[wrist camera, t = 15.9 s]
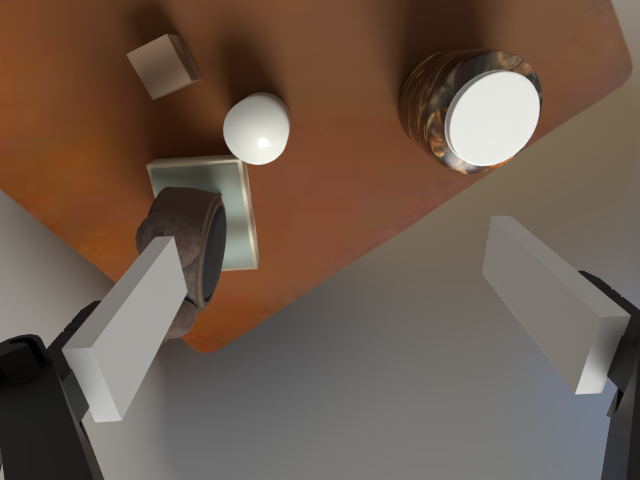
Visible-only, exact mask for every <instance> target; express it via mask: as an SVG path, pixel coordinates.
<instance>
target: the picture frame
mask: <svg viewBox="0 0 640 480" xmlns="http://www.w3.org/2000/svg"><path fill="white" fill-rule="evenodd" d="M146 166H147V170H148V174H149V177H150V181H151V185H152V189H153V193H154V196H155V198H156V197H157V195H158V194H159V192H160V191H161V190H162V189H163V188H165V187H168V186H170V187H189V188H196V189H201V190H205V191H209V192H213V193H216V194H217V193H221V194H222V197H221V198H222V201H223V203H224V206H225V213H226V222H227V235H226V246H225V253H224V259H223V264H222V269H221V271H230V270H246V269H258V265H259V261H260V255H259V248H258V241H257V234H256V227H255V220H254V213H253V206H252V200H251V193H250V186H249V179H248V172H247V165H246V162H244V161H242V160H240V159H239V158H237V157H236V156H235V155H234V154H232V155H216V156H200V157H184V158H168V159H155V160H153V161H152V162H150V163H149V164H148V165H146Z"/></svg>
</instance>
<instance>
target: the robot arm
mask: <svg viewBox="0 0 640 480" xmlns="http://www.w3.org/2000/svg"><path fill="white" fill-rule="evenodd" d="M482 274H483V275H484V277H485V278H486V279H487V281H488V282H489V283H490V284H491V286H492V287H493V288H494V289H495V291H496V292H497V294H498V295H499V296H500V297H501V299H502V300H503V301H504V303H505V304H506V305H507V307H508V308H509V309H510V310H511V312H512V313H513V314H514V316H515V317H516V318H517V320H518V321H519V322H520V323H521V325H522V326H523V327H524V329H525V330H526V331H527V333H528V334H529V335H530V336H531V338H532V339H533V340H534V342H535V343H536V344H537V346H538V347H539V348H540V349H541V351H542V352H543V353H544V354H545V356H546V357H547V359H548V360H549V361H550V362H551V364H552V365H553V366H554V368H555V369H556V370H557V371H558V373H559V374H560V375H561V377H562V378H563V379H564V381H565V382H566V383H567V384H568V386H569V387H570V388H571V390H572V391H573V392H574V394H589V393H602V391H603V388H604V385H605V383H606V380H607V378H608V377H609V378H610V379H611V381H612V382H613V383H614V384H615V385H616V386H617V387H618V388H617V391H616V393H615V396H614V398H613V401H612V403H611V406H610V408H609V411H608V413H607V416H608V417H610V418H611V419H610V425H609V432H608V438H607V444H606V451H605V457H604V463H603V470H602V476H601V480H640V310H639V309H638V308H637V307H635V306H634V305H632V304H631V303H630V302H629V301H628V300H626V299H625V298H624V297H621V295H620V294H619V293H617V292H616V291H615V290H613V289H611V287H610V286H609V285H607V284H606V283H605V282H604V281H602V280H601V279H600V278H597V277H596V276H593V275H591V274H589V273H587V272H585V271H576V270H575V269H574V268H573V267H571V266H570V265H569V264H568V263H566V262H565V261H564V260H563V259H562V258H560V257H559V256H558V255H557V254H556V253H554V252H553V251H552V250H551V249H550V248H548V247H547V246H546V245H545V244H544V243H543V242H541V241H540V240H539V239H538V238H536V237H535V236H534V235H533V234H532V233H530V232H529V231H528V230H527V229H526V228H524V227H523V226H522V225H521V224H520V223H518V222H517V221H516V220H515V219H513V218H512V217H511V216H493V217H491V221H490V227H489V234H488V241H487V247H486V253H485V260H484V266H483V273H482ZM187 292H188V291H187V287H186V283H185V279H184V275H183V271H182V267H181V263H180V259H179V255H178V251H177V247H176V243H175V239H174V236H164V237H155V238H154V239H153V240H152V241H151V243H150V244H149V245H148V246H147V247H146V249H145V250H144V251H143V252H142V253H141V255H140V256H139V257H138V258H137V259H136V261H135V262H134V263H133V264H132V265H131V267H130V268H129V269H128V270H127V271H126V273H125V274H124V275H123V276H122V277H121V279H120V280H119V281H118V282H117V283H116V285H115V286H114V287H113V288H112V290H111V291H110V292H109V293H108V294H107V295H106V297H105V298H104V299H103V300H102V301H94V302H92V303H91V304H90V305H88V306H87V307H85V308H84V309H82V310H81V311H80V312H79V313H78V314H77V315H76V316H75V318H74V319H73V320H72V323H69V324H68V325H67V327H66V328H65V329H64V332H61V333H60V334H59V336H58V337H57V338H56V339H55V340H54V341H53V342H52V343H51V345H50V346H49V347H48V348H47V349H46V347H45V346H44V343H43V341H42V339H41V338H40V337H39V336H38V335H33V334H27V335H20V336H17V337H14V338H10V339H7V340H6V341H3V342H1V343H0V470H1V466H2V464H3V471H4V479H5V480H104V478H103V475H102V472H101V470H100V467H99V464H98V462H97V459H96V456H95V454H94V451H93V448H92V446H91V443H90V440H89V438H88V435H87V432H86V430H85V427H84V425H83V423H82V421H81V420H82V418H83V417H84V415H85V413H86V412H87V410H88V409H89V410H90V412H91V414H92V416H93V418H94V420H95V422H109V421H122V419H123V417H124V415H125V413H126V411H127V409H128V407H129V405H130V403H131V401H132V400H133V398H134V396H135V394H136V392H137V390H138V388H139V386H140V384H141V382H142V380H143V378H144V376H145V374H146V372H147V370H148V368H149V366H150V364H151V362H152V360H153V358H154V356H155V355H156V353H157V351H158V348H159V347H160V345H161V343H162V341H163V339H164V337H165V335H166V333H167V331H168V329H169V327H170V325H171V323H172V321H173V319H174V317H175V315H176V313H177V311H178V310H179V308H180V306H181V304H182V302H183V300H184V298H185V296H186V294H187Z"/></svg>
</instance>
